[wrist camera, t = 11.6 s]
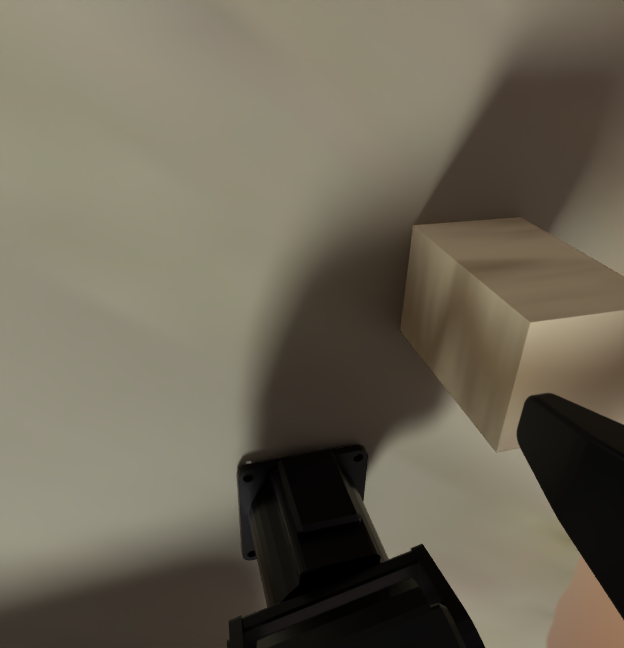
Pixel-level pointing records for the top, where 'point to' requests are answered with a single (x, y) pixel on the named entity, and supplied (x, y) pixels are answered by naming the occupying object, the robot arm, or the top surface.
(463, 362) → the birch block
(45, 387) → the top surface
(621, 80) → the top surface
